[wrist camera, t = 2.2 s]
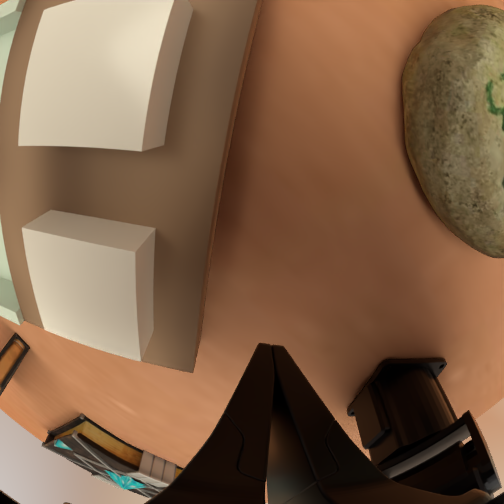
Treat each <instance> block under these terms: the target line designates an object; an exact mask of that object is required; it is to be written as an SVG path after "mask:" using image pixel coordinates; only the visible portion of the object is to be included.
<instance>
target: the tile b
mask: <svg viewBox="0 0 504 504" xmlns="http://www.w3.org/2000/svg"><path fill="white" fill-rule="evenodd" d="M192 12H193V8H192V6H191V4H190V3H189V1H188V0H74V1H70V2H67V3H64V4H60V5H57V6H54V7H51V8H48V9H45V10H44V11H43V14H42V17H41V20H40V23H39V26H38V29H37V32H36V36H35V39H34V43H33V47H32V51H31V55H30V59H29V64H28V68H27V73H26V78H25V84H24V90H23V97H22V105H21V113H20V124H19V139H18V146H71V147H92V148H107V149H120V150H131V151H141V152H142V151H145V150H148V149H152V148H155V147H159V146H163V145H164V142H165V135H166V129H167V123H168V117H169V111H170V105H171V100H172V95H173V89H174V84H175V80H176V75H177V70H178V66H179V62H180V57H181V53H182V49H183V45H184V41H185V37H186V34H187V30H188V26H189V23H190V19H191V16H192Z"/></svg>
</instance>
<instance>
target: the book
mask: <svg viewBox="0 0 504 504" xmlns="http://www.w3.org/2000/svg"><path fill="white" fill-rule="evenodd" d="M47 433H48V434H49V435H48V436H47V439H46V441H45V442H43V443H42V446H43V447H45V448H46V449H48V450H50V451H52V452H54V453H56V454H58V455H60V456H62V457H64V458H66V459H68V460H69V461H71V462H73V463H74V464H76V465H78V466H80V467H82V468H83V469H85V470H87V471H89V472H91V473H92V476H93V477H95V478H97V479H99V480H101V481H103V482H105V483H108V484H110V485H112V486H114V487H116V488H122V489H127V490H129V491H132V492H134V493H137V494H140V495H143V496H145V497H148V498H153V497H154V496H155V495H157V494H158V493H159V492H161V491H162V490H163V489H165V488H166V487H167V486H168V485H169V484H170V483H171V482H172V481H173V480H174V479H175V478H176V477H177V476H178V475H179V474H180V473H181V472H182V470H183V469H184V468H181V467H178V466H177V465H176V464H173V463H171V462H169V461H166V460H164V459H162V458H160V457H157V456H155V455H153V454H151V453H149V452H147V451H145V450H143V451H142V450H140V449H138V448H136V447H134V446H132V445H130V444H128V443H126V442H124V441H123V440H121V439H119V438H118V437H116V436H114V435H113V434H111V433H110V432H108V431H107V430H105V429H103V428H102V427H100V426H99V425H97V424H96V423H94V422H93V421H91V420H90V419H88V418H87V417H86V416H85V415H84V414H81V415H80V416H79V417H77V418H76V419H74V420H72V421H71V422H69V423H67V424H65V425H63V426H62V427H60V428H58V429H55V430H52V431H49V430H48V432H47ZM45 445H46V446H45Z"/></svg>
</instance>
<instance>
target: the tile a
mask: <svg viewBox="0 0 504 504" xmlns="http://www.w3.org/2000/svg"><path fill="white" fill-rule="evenodd" d="M155 229H156V228H152V227H147V226H141V225H136V224H130V223H124V222H119V221H113V220H107V219H101V218H96V217H90V216H84V215H78V214H73V213H67V212H61V211H55V210H50V211H48V212H46V213H45V214H43V215H41V216H40V217H38V218H36V219H35V220H33V221H31V222H30V223H28V224H27V225H25V226H23V227H22V233H23V240H24V247H25V253H26V259H27V264H28V269H29V274H30V278H31V283H32V287H33V291H34V295H35V299H36V302H37V306H38V310H39V313H40V316H41V320H42V323H43V326H44V329H45V330H46V331H49V332H51V333H54V334H56V335H59V336H61V337H64V338H67V339H69V340H72V341H75V342H78V343H81V344H84V345H86V346H89V347H92V348H95V349H99V350H102V351H105V352H108V353H111V354H115V355H118V356H122V357H125V358H129V359H132V360H136V361H140V362H141V361H142V358H143V356H144V353H145V351H146V348H147V346H148V343H149V341H150V338H151V336H152V333H153V331H154V321H153V278H154V248H155Z"/></svg>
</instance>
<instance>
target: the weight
mask: <svg viewBox="0 0 504 504" xmlns="http://www.w3.org/2000/svg"><path fill="white" fill-rule="evenodd" d="M402 87H403V90H402V96H403V104H404V125H405V144H406V149H407V153H408V156H409V159H410V162H411V164H412V166H413V169H414V171H415V173H416V176H417V178H418V180H419V182H420V185H421V187H422V190H423V192H424V194H425V195H426V197H427V199H428V200H429V202H430V204H431V206H432V208H433V209H434V211H435V213H436V214H437V215H438V217H439V218H440V220H441V221H442V222H443V223H444V224H445V225H446V226H447V227H448V228H449V229H450V230H451V231H452V232H453V233H454V234H455V235H456V236H457V237H459V238H460V239H461V240H462V241H464V242H465V243H466V244H468V245H469V246H470V247H472V248H474V249H475V250H477V251H479V252H481V253H483V254H485V255H487V256H489V257H492V258H504V11H503V10H501V9H499V8H496V7H492V6H488V5H472V6H463V7H459V8H454V9H450V10H448V11H446V12H444V13H443V14H441V15H439V16H438V17H437V18H435V19H434V20H433V21H432V23H431V24H430V25H429V26H428V27H427V29H426V30H425V32H424V34H423V36H422V39H421V41H420V42H419V43H418V44H417V45H416V47H415V48H414V49H413V50H412V52H411V54H410V56H409V58H408V61H407V64H406V67H405V69H404V71H403V76H402Z"/></svg>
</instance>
